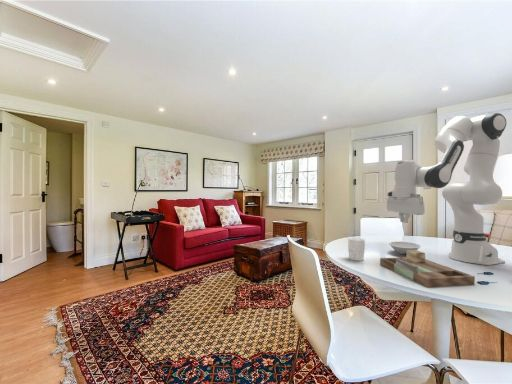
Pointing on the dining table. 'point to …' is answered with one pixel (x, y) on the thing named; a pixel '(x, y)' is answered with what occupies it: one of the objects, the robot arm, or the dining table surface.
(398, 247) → the dish
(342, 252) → the dining table surface
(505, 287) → the dining table surface
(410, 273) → the brown wooden compartment tray
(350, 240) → the white cup
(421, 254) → the maple block
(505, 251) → the dining table surface
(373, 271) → the dining table surface
